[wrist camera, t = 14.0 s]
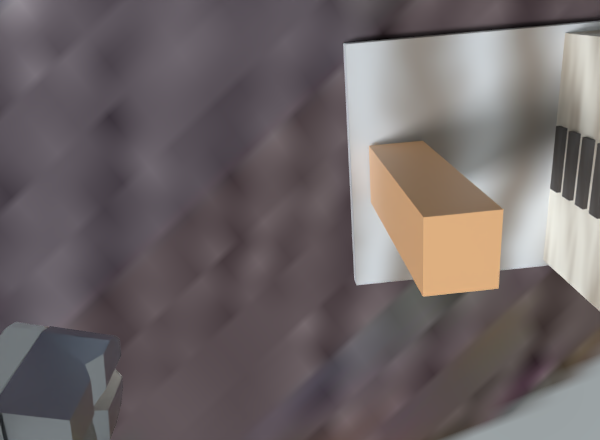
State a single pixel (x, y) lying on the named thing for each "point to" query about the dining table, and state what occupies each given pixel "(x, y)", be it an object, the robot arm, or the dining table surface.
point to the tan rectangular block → (436, 219)
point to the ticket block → (488, 138)
